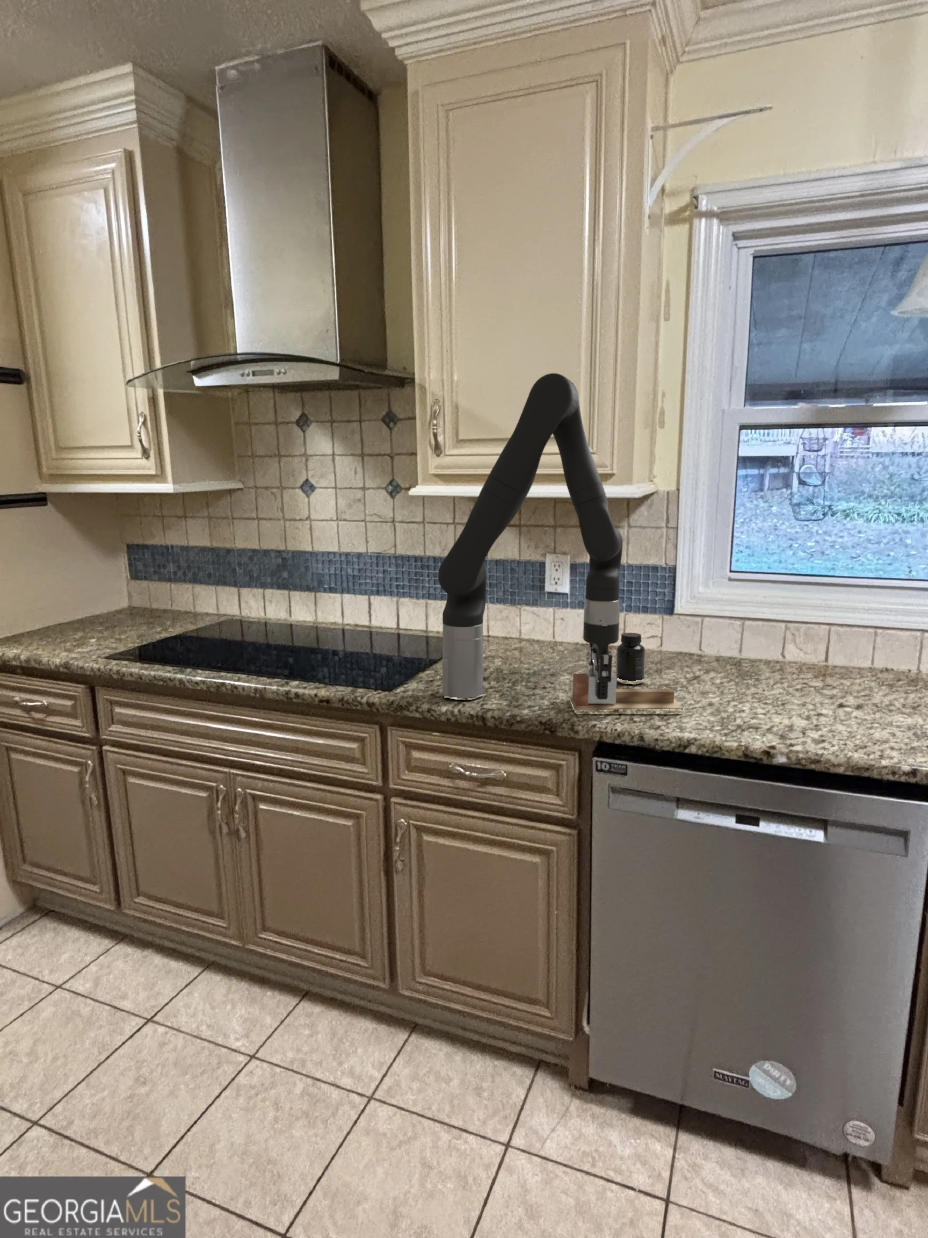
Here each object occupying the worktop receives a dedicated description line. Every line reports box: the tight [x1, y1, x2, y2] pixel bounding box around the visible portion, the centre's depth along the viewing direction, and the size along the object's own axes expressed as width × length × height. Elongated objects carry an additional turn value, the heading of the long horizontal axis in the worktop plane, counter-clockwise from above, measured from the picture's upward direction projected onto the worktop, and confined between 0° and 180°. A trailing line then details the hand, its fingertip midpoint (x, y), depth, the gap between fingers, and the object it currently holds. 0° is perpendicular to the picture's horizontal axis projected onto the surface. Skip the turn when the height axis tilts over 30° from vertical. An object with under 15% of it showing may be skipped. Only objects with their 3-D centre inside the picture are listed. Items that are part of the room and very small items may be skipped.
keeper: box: [584, 669, 618, 704], centre depth 159 cm, size 6×6×6 cm
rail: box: [568, 672, 684, 711], centre depth 159 cm, size 23×9×7 cm, turn 90°
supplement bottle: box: [615, 632, 646, 681], centre depth 178 cm, size 7×7×12 cm
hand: (598, 693), depth 159 cm, fingers open, 7 cm apart
